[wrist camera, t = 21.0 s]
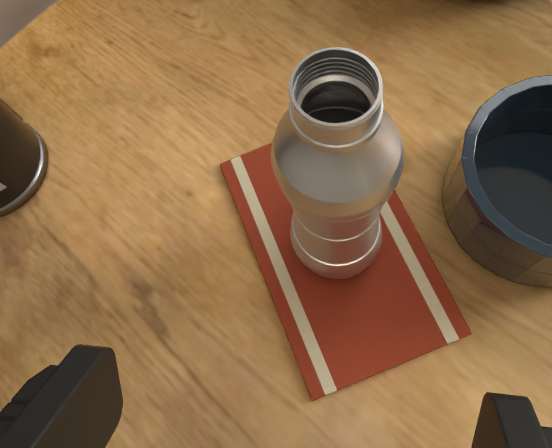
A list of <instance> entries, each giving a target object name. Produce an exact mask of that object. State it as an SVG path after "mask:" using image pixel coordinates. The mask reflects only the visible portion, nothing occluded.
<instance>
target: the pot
mask: <svg viewBox="0 0 552 448" xmlns="http://www.w3.org/2000/svg"><path fill="white" fill-rule="evenodd" d="M443 206H444V211H445V216H446V219H447V222H448V225H449V227H450V229H451V231H452V233H453V235H454V236H455V238H456V239H457V241H458V242H459V244H460V245H461V246H462V248H463V249H464V250H465V251H466V252H467V253H468V254H469V255H470V256H471V257H472V258H473V259H474V260H475V261H476V262H478V263H479V264H480V265H482V266H483V267H484V268H486V269H487V270H489V271H491V272H493V273H494V274H496V275H498V276H500V277H503V278H505V279H507V280H510V281H513V282H516V283H520V284H523V285H529V286H535V287H552V75H549V76H540V77H531V78H528V79H525V80H523V81H520V82H518V83H515V84H513V85H510V86H508V87H506V88H503V89H501V90H500V91H498V92H497V93H496V94H495V95H494V96H492V97H491V98H490V99H489V100H488V101H486V102H485V103H484V104H483V105H482V106H480V108H479V109H478V110H477V112H476V114H475V116H474V117H473V119H472V121H471V122H470V124H469V126H468V128H467V129H466V131H465V133H464V135H463V138H462V140H461V142H460V144H459V146H458V148H457V150H456V153H455V155H454V157H453V159H452V161H451V163H450V165H449V167H448V170H447V172H446V178H445V181H444V187H443Z"/></svg>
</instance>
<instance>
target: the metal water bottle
mask: <svg viewBox="0 0 552 448" xmlns="http://www.w3.org/2000/svg"><path fill="white" fill-rule="evenodd" d="M382 97H383V85H382V79H381V75H380V73H379V71H378V69H377V67H376V66H375V65H374V63H373V62H372V61H371V60H370V59H369V58H368V57H366V56H365V55H363V54H361V53H360V52H357V51H355V50H352V49H348V48H344V47H329V48H323V49H320V50H317V51H314V52H312V53H310V54H308V55H307V56H306V57H304V58H303V59H302V60H301V61H300V62H299V63H298V64H297V65H296V67H295V68H294V70H293V72H292V74H291V77H290V82H289V98H290V103H289V109H288V110H287V112H286V113H285V114H284V115H283V117H282V119H281V120H280V122H279V124H278V126H277V129H276V132H275V135H274V138H273V141H272V147H271V163H272V168H273V171H274V174H275V177H276V179H277V182H278V184H279V186H280V187H281V189H282V191H283V193H284V194H285V196H286V197H287V199H288V200H289V202H290V203H291V206H292V208H293V215H292V219H291V227H290V237H291V243H292V246H293V249H294V251H295V253H296V255H297V257H298V258H299V259H300V260H301V261H302V263H303V264H304V265H305V266H307V267H308V268H309V269H310V270H311V271H313V272H314V273H316V274H318V275H320V276H323V277H326V278H330V279H346V278H349V277H353V276H355V275H357V274H359V273H361V272H362V271H363V270H365V269H366V268H367V267H368V266H370V265H371V263H372V262H373V261H374V260H375V258H376V257H377V255H378V253H379V251H380V247H381V243H382V227H381V220H380V217H379V213H380V211H381V209H382V207H383V205H384V204H385V203H386V201H387V200H388V198H389V197H390V196H391V194H392V193H393V191H394V189H395V187H396V185H397V183H398V181H399V179H400V177H401V174H402V170H403V166H404V148H403V143H402V139H401V136H400V133H399V131H398V128H397V126H396V124H395V121H394V120H393V118H392V117H391V116H390V114H389V113H388V112H387V111H386V110H385V109H384V108H383V101H382Z"/></svg>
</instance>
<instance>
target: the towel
mask: <svg viewBox="0 0 552 448" xmlns="http://www.w3.org/2000/svg"><path fill="white" fill-rule="evenodd" d="M271 147H272V143H271V144H268V145H266V146H263V147H261V148H258V149H256V150H253V151H251V152H249V153H246V154H244V155H241V156H238V157H236V158H233V159H231V160H229V161H226V162H224V163H221V164H220V166H221V169H222V171H223V174H224V176H225V179H226V181H227V184H228V187H229V189H230V192H231V194H232V197H233V199H234V202H235V204H236V207H237V210H238V212H239V215H240V217H241V220H242V222H243V225H244V227H245V230H246V232H247V235H248V238H249V240H250V243H251V245H252V248H253V250H254V253H255V255H256V258H257V261H258V263H259V266H260V268H261V271H262V273H263V276H264V278H265V281H266V283H267V286H268V289H269V291H270V294H271V296H272V299H273V301H274V304H275V306H276V309H277V312H278V314H279V317H280V319H281V322H282V324H283V327H284V329H285V332H286V334H287V337H288V340H289V342H290V345H291V347H292V350H293V352H294V355H295V357H296V360H297V363H298V365H299V368H300V370H301V373H302V375H303V378H304V380H305V383H306V385H307V388H308V391H309V393H310V396H311V398H312V400H316V399H318V398H320V397H323V396H325V395H328V394H330V393H332V392H335V391H337V390H340V389H342V388H344V387H347V386H349V385H351V384H354V383H356V382H359V381H361V380H363V379H366V378H368V377H371V376H373V375H375V374H378V373H380V372H382V371H385V370H387V369H390V368H392V367H394V366H397V365H399V364H402V363H404V362H406V361H409V360H411V359H413V358H416V357H418V356H421V355H423V354H425V353H428V352H430V351H432V350H435V349H437V348H440V347H442V346H444V345H447V344H449V343H452V342H454V341H456V340H459V339H461V338H463V337H466V336H468V335H471V334H472V333H471V331H470V329H469V328H468V326H467V324H466V322H465V320H464V318H463V316H462V315H461V313H460V311H459V309H458V307H457V305H456V303H455V302H454V300H453V298H452V296H451V294H450V292H449V290H448V289H447V287H446V285H445V283H444V281H443V279H442V277H441V276H440V274H439V272H438V270H437V268H436V266H435V264H434V263H433V261H432V259H431V257H430V255H429V253H428V251H427V249H426V248H425V246H424V244H423V242H422V240H421V238H420V236H419V235H418V233H417V231H416V229H415V227H414V225H413V223H412V222H411V220H410V218H409V216H408V214H407V212H406V210H405V209H404V207H403V205H402V203H401V201H400V199H399V197H398V196H397V194H396V192H395V190H394V191H393V193H392V194H391V196H390V197H389V198H388V200H387V201H386V203H385V204H384V205H383V207H382V209H381V211H380V213H379V217H380V220H381V227H382V243H381V247H380V251H379V253H378V255H377V257H376V258H375V260H374V261H373V262H372V263H371V265H370V266H368V267H367V268H366V269H365V270H363V271H362V272H361V273H359V274H357V275H355V276H353V277H349V278H346V279H330V278H326V277H323V276H320V275H318V274H316V273H314V272H313V271H311V270H310V269H309V268H308V267H307V266H305V265H304V264H303V263H302V261H301V260H300V259H299V258H298V257H297V255H296V253H295V251H294V249H293V246H292V243H291V237H290V227H291V219H292V215H293V208H292V206H291V203H290V202H289V200H288V199H287V197H286V196H285V194H284V193H283V191H282V189H281V187H280V186H279V184H278V182H277V179H276V177H275V174H274V171H273V168H272V163H271Z"/></svg>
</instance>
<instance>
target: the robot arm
mask: <svg viewBox="0 0 552 448" xmlns="http://www.w3.org/2000/svg"><path fill="white" fill-rule="evenodd" d="M47 165H48V152H47V147H46V144H45V142H44V140H43V139H42V137H41V136H40V135H39V134H38V133H37V132H36V131H35V130H34V129H33V128H32V127H31V126H29V125H28V124H27V123H25V122H23V120H22V118H21V117H20V116H19V115H18V114H17V113H16V112H15V111H14V110H13V109H12V108H11V107H9V106H8V105H7V104H6V103H5V102H4V101H3V100H2V99H1V98H0V216H3V215H6V214H8V213H10V212H12V211H14V210H16V209H17V208H19V207H20V206H22V205H23V204H24V203H25V202H27V201H28V200H29V199H30V198H31V197H32V196H33V194H34V193H35V192H36V191H37V189H38V188H39V186H40V185H41V183H42V181H43V179H44V176H45V174H46V170H47ZM122 407H123V397H122V391H121V386H120V380H119V374H118V369H117V363H116V357H115V353H114V351H113V349H111V348H108V347H99V346H90V345H81V344H79V345H76V346H75V347H73V348H72V349H71V351H70V352H69V353H68V354H67V356H66V357H65V358H64V359H63V360H62V362H61V363H60V364H59V365H58V366H56V365H50V366H48V367H47V368H45V369H44V370H42V371H41V372H39V373H38V374H36V375H35V376H33V377H32V378H30V379H29V380H28V381H27V382H26V383H25V384H24V385H23V387H22V388H21V389H20V390H19V391H18V392H17V393H16V395H15V396H14V397H13V398H12V401H11V403H8V404H7V405H6V406H5V407H4V408H3V410H2V411H1V412H0V448H105V447H106V445H107V443H108V441H109V440H110V438H111V436H112V434H113V433H114V431H115V429H116V427H117V425H118V423H119V420H120V417H121V413H122ZM471 448H552V428H551V427H543V426H540V423H539V421H538V418H537V416H536V413H535V411H534V409H533V406H532V404H531V402H530V400H529V399H528V398H527V397H524V396H515V395H506V394H498V393H489V392H487V393H486V394H485V395H484V397H483V401H482V405H481V409H480V413H479V417H478V422H477V426H476V430H475V434H474V438H473V442H472V447H471Z"/></svg>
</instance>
